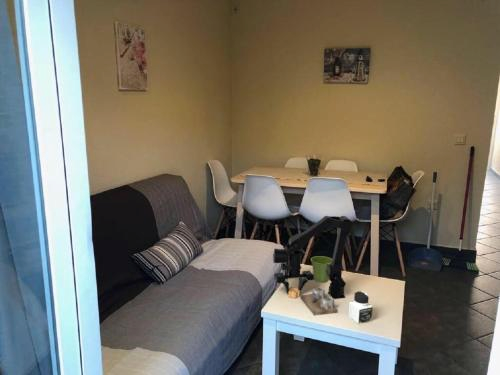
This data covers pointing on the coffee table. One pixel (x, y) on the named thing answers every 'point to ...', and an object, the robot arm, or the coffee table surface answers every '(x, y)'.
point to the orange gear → (293, 292)
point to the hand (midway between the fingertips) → (293, 293)
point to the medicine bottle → (360, 308)
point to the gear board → (319, 302)
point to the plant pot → (320, 268)
